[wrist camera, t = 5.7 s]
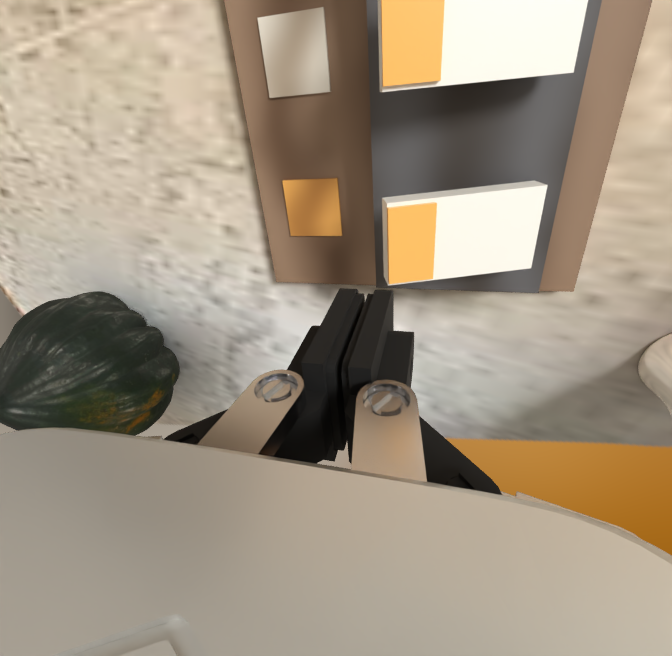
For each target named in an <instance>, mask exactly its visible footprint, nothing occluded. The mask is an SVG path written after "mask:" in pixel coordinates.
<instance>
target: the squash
mask: <svg viewBox="0 0 672 656" xmlns="http://www.w3.org/2000/svg"><path fill="white" fill-rule="evenodd" d="M162 345H163V336H162V334H161V332H160V330H159V329H157V328H155V327H150V326H147V327H146V322H145V320H144V319H143V318H142V317H141V315H140V314H139V313H137V312H135V311H133V310H129V309H128V307H127V306H126V305H125V304H124V303H123V302H122V301H121V300H120V299H118V298H117V297H115V296H114V295H111V294H109V293H105V292H89V293H83V294H80V295H77V296H74V297H71V298H63V299H57V300H53V301H48V302H46V303H44V304H42V305H40V306H38V307H36V308H35V309H33V310H31V311H30V312H28V313H27V314H25V315H24V316H23V317H22V318H21V319H20V320H19V321H18V322H17V323H16V324H15V326H14V327H13V329H12V331H11V333H10V335H9V336H8V339H7V340H6V342H5V343H4V344H3V345H2V347H1V348H0V423H2V424H4V425H6V426H8V427H11V428H13V429H15V430H17V431H19V430H25V429H37V428H76V429H85V430H94V431H103V432H112V433H119V434H126V435H133V436H135V435H137V434H139V433H141V432H143V431H145V430H147V429H148V428H149V427H150V426H152V425H153V424H154V423H155V422H156V421H157V420H158V419H159V418H160V417H161V416H162V415H163V413H164V412H165V410H166V408H167V407H168V405H169V403H170V401H171V398H172V394H173V386H174V384H175V383H176V380H177V378H178V376H179V364H178V361H177V359H176V356H175V354H174V353H173V352H172V351H171V350H169V349H168V348H166V347H164V346H162Z"/></svg>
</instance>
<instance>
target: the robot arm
mask: <svg viewBox="0 0 672 656" xmlns="http://www.w3.org/2000/svg"><path fill="white" fill-rule="evenodd" d="M413 355H414V332H403V331H393V291H392V290H375V291H374V294H368V296H367V299H366V301H365V299H364V294H359V293H358V290H357V289H341V288H340V289H339V291H338V293H337V295H336V297H335V299H334V301H333V303H332V304H331V306H330V308H329V310H328V312H327V314H326V316H325V318H324V320H323V322H322V324H321V325H320V326H312V327H311V328H310V330H309V331H308V333H307V335H306V337H305V339H304V340H303V342H302V344H301V346H300V347H299V349H298V351H297V353H296V355H295V356H294V358H293V360H292V362H291V364H290V365H289V367H288V369H287V370H273V371H270V372H267V373H264V374H263V375H261V376H259V377H257V378H256V379H255V380H254V381H253V382H252V383H251V384H250V385H249V386H248V387H247V389H246V390H245V391H244V392H243V393H242V394H241V395H240V396H239V398H238V399H237V400H236V401H235V402H234V403H233V404H232V406H231V407H230V408H229V409H227V410H225V411H223V412H220V413H218V414H216V415H213V416H211V417H209V418H206V419H204V420H202V421H199V422H197V423H195V424H192V425H190V426H188V427H185V428H183V429H181V430H178V431H176V432H174V433H173V434H171V435H169V436H167V437H166V438H165V439H164V440H163V438H162V436H151V437H140V436H133V435H126V434H119V433H112V432H103V431H94V430H85V429H76V428H37V429H25V430H19V431H14V432H8V433H4V434H0V656H672V556H671V555H670V554H668V553H666V552H664V551H662V550H661V549H659V548H657V547H655V546H654V545H652V544H650V543H648V542H645V541H643V540H641V539H640V538H639V537H637V536H636V535H635V534H633V533H631V532H629V531H627V530H625V529H623V528H621V527H618V526H615V525H612V524H610V523H607V522H604V521H601V520H598V519H595V518H592V517H590V516H586V515H584V514H581V513H578V512H575V511H572V510H569V509H566V508H564V507H560V506H558V505H555V504H552V503H549V502H546V501H543V500H540V499H537V498H535V497H532V496H529V495H526V494H523V493H520V492H517V493H516V496H513V495H510V494H507V493H504V492H501V491H500V490H499V488H498V486H497V485H496V484H495V483H494V482H493V481H492V479H491V478H490V477H488V476H487V475H486V474H485V473H484V472H483V471H482V470H480V469H479V468H478V467H477V466H476V465H475V464H474V463H472V462H471V461H470V460H469V459H468V458H467V457H466V456H464V455H463V454H462V453H461V452H460V451H459V450H458V449H456V448H455V447H454V446H453V445H452V444H451V443H450V442H448V441H447V440H446V439H445V438H444V437H443V436H442V435H440V434H439V433H438V432H437V431H436V430H435V429H434V428H432V427H431V426H430V425H429V424H428V423H427V422H426V421H424V420H423V419H422V418H421V417H420V416H419V412H418V404H417V398H416V395H415V393H414V392H413V390H412V389H411V381H412V370H413ZM346 442H347V443H348V454H349V462H350V463H351V469H346V468H339V467H333V466H327V465H320V464H317V463H318V462H320V461H322V460H329V461H335V458H336V455H337V451H338V450H344V449H345V445H346Z"/></svg>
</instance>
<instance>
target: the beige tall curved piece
mask: <svg viewBox="0 0 672 656" xmlns="http://www.w3.org/2000/svg"><path fill="white" fill-rule="evenodd" d="M638 372H639V376H640V378H641V380H642V381H643V382H644V384H645V385H646V386H647V387H648V388H649V389H650V390H652V391H653V392H654V393H655V394H656V395H657V396H658V397H659V398H660V399H661V400H662V401H663V402H664V404H665V405H666V407H667V408H668V410H669V412H670V414H671V416H672V333H671V334H669V335H666V336H664V337H662V338H660V339H659V340H657V341H656V342H654V343H653V344H652V345H650V346H649V347H648V348H647V349H646V350H645V352H644V353H643V354H642V356H641V358H640V360H639V364H638Z"/></svg>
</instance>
